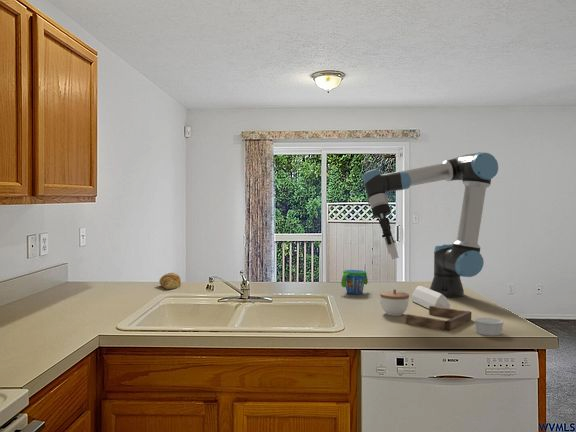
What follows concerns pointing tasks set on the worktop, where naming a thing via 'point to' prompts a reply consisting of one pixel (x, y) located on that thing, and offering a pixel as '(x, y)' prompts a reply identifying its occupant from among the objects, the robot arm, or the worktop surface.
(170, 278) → the bread loaf
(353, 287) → the snack cup
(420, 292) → the white rounded prism
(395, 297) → the lidded jar
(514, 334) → the worktop surface
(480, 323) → the ramekin
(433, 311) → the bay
